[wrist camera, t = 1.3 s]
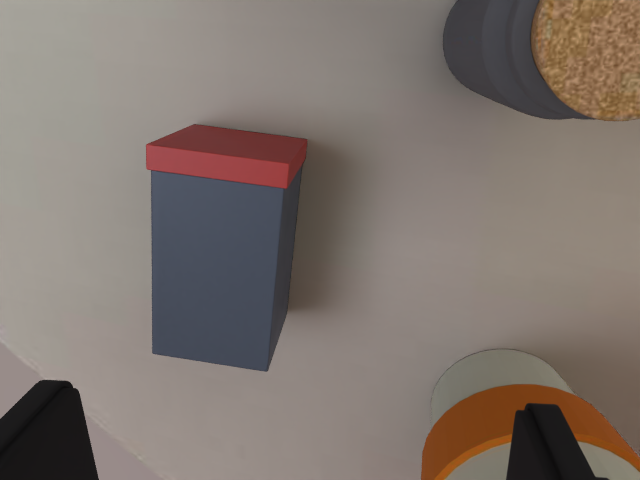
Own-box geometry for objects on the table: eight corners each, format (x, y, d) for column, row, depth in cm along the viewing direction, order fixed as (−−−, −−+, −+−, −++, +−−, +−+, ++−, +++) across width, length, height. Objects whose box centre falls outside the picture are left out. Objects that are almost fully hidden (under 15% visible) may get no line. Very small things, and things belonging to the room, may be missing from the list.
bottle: (425, 77, 28) (478, 106, 14) (466, -42, 25) (579, -150, 11) (528, 108, 28) (687, 171, 14) (578, -7, 25) (826, -73, 11)
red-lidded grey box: (289, 314, 33) (269, 374, 27) (189, 299, 34) (148, 355, 28) (307, 139, 29) (289, 163, 23) (193, 124, 30) (145, 144, 23)
